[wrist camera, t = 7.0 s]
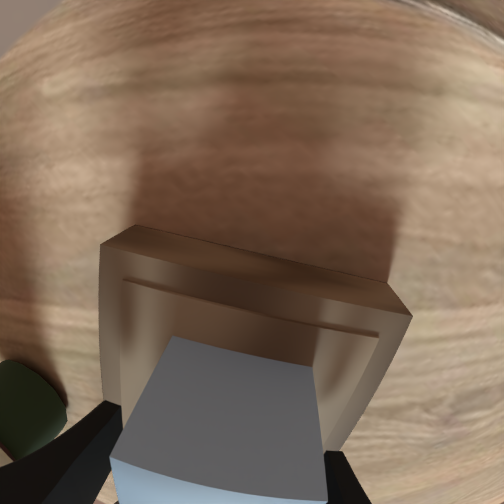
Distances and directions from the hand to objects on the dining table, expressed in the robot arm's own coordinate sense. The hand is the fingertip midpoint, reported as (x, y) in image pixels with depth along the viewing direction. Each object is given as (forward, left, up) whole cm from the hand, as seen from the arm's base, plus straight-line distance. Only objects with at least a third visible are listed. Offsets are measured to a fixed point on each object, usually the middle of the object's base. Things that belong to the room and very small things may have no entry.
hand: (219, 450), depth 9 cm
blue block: (0, 0, -2) cm, 2 cm away
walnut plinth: (0, 0, -5) cm, 5 cm away
